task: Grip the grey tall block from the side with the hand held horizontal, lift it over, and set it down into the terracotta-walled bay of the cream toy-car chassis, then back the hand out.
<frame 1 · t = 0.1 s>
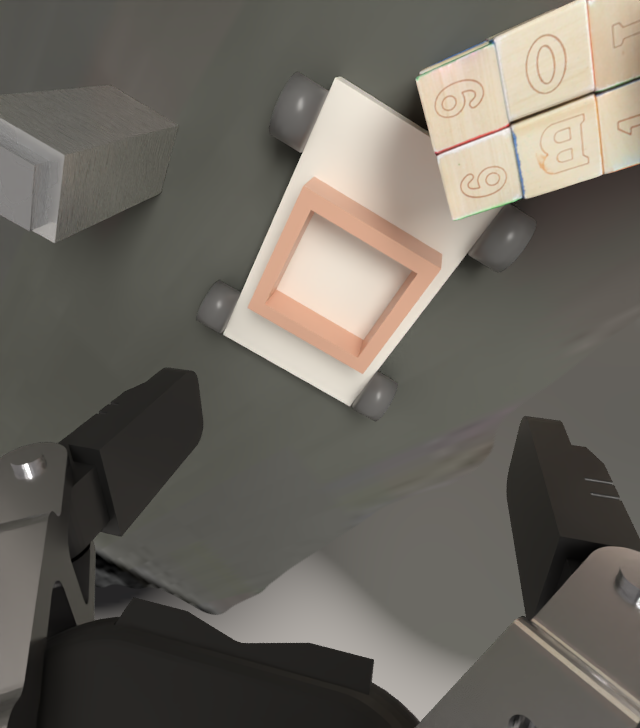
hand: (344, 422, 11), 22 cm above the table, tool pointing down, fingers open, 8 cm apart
chassis: (348, 266, 33), on the table
grey tall block: (137, 141, 32), on the table
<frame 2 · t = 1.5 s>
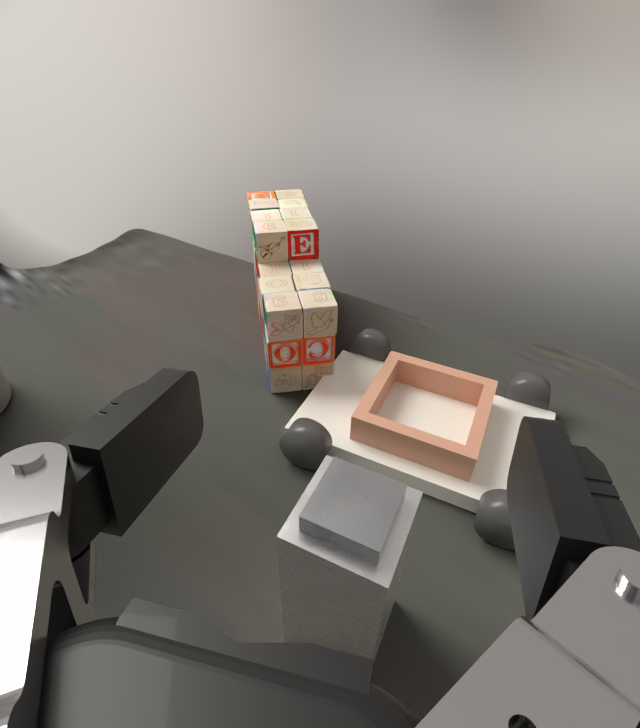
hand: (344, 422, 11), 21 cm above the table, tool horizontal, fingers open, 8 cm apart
stack of blocks: (289, 331, 52), on the table, touching chassis
chassis: (420, 432, 39), on the table
grey tall block: (341, 620, 27), on the table
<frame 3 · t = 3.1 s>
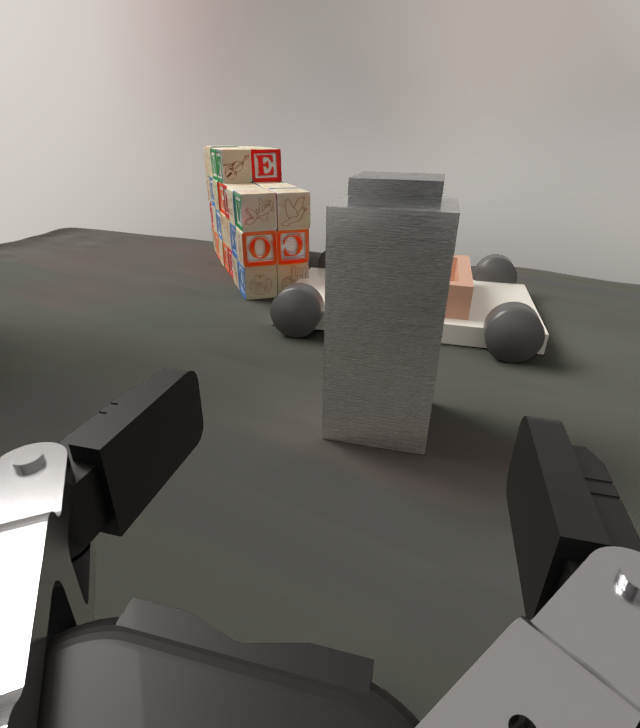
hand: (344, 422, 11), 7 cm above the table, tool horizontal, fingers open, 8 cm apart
stack of blocks: (254, 271, 51), on the table, touching chassis
chassis: (405, 311, 39), on the table
grey tall block: (379, 418, 24), on the table
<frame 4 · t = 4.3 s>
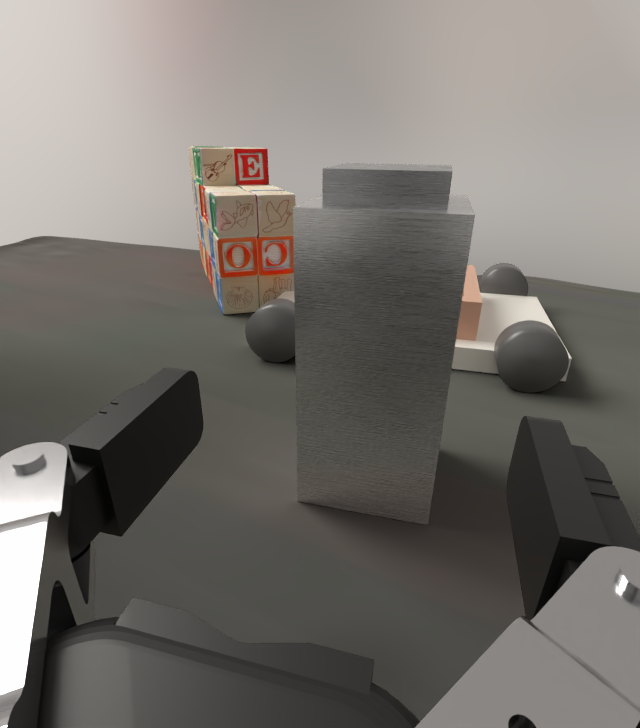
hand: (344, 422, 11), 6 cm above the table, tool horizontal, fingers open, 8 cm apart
stack of blocks: (240, 282, 47), on the table, touching chassis
chassis: (403, 328, 34), on the table
grey tall block: (370, 471, 20), on the table
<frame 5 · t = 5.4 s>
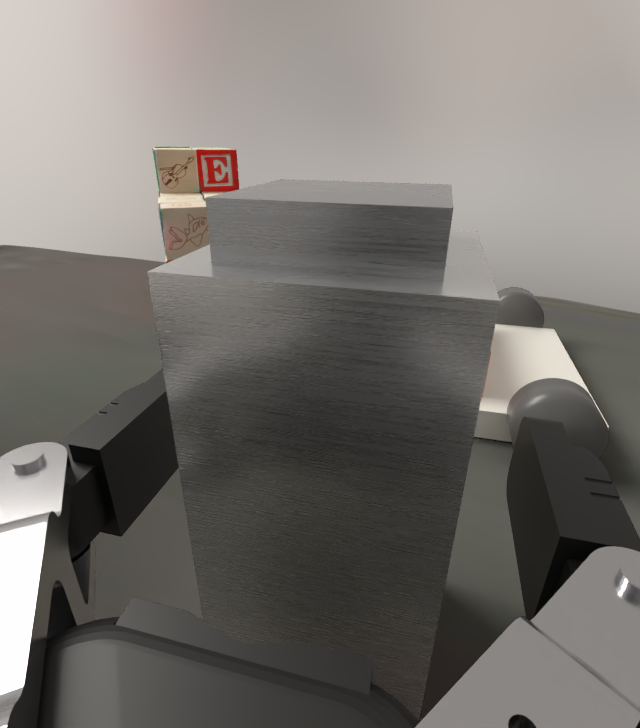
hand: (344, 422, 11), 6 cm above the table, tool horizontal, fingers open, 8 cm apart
stack of blocks: (209, 302, 41), on the table, touching chassis
chassis: (392, 370, 28), on the table
grey tall block: (331, 627, 13), on the table
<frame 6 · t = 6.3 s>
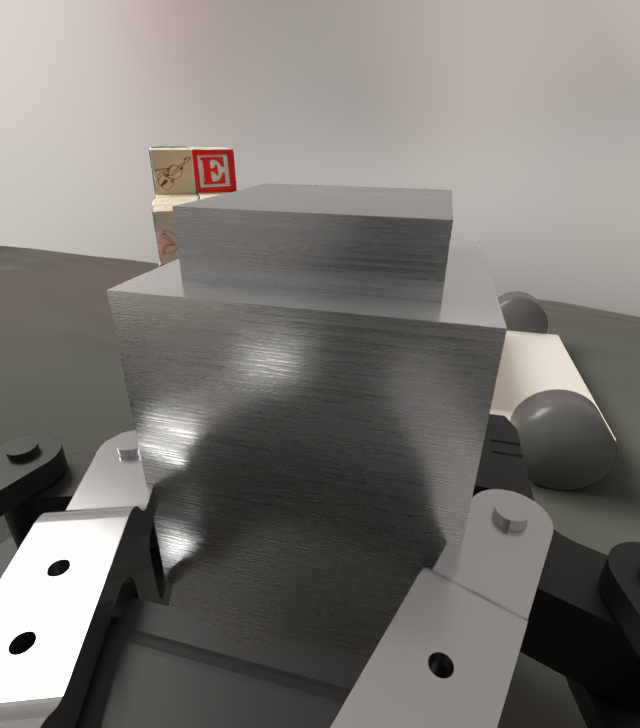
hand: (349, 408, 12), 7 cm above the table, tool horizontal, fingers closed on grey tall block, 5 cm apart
stack of blocks: (207, 304, 40), on the table, touching chassis
chassis: (391, 378, 27), on the table
grey tall block: (323, 659, 13), on the table, touching gripper
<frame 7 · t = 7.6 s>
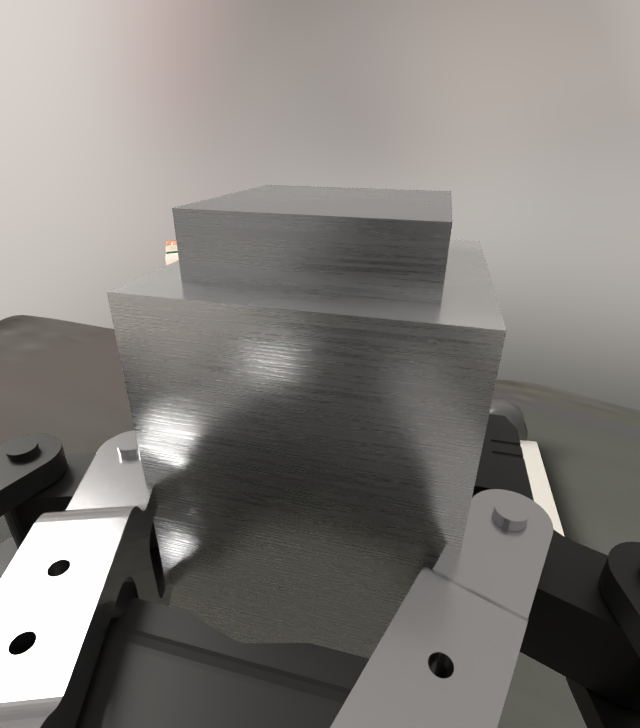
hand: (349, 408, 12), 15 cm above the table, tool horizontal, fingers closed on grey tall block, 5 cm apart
chassis: (387, 490, 31), on the table
grey tall block: (323, 659, 13), point 8 cm above the table, touching gripper
when the fingers open (9 cm above the table, at t = 11.4 s): grey tall block drops 1 cm, resting on chassis.
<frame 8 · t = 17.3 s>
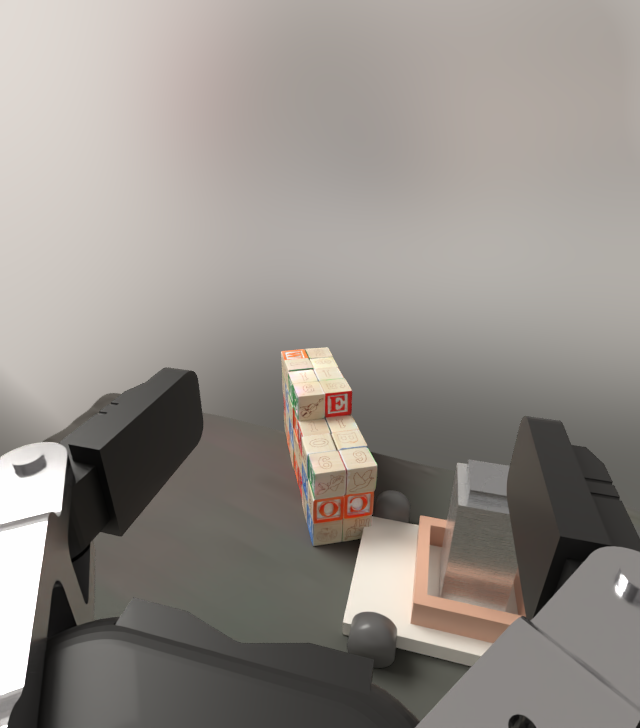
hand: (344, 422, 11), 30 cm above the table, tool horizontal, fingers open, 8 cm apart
stack of blocks: (320, 476, 55), on the table, touching chassis
chassis: (467, 597, 40), on the table
grey tall block: (469, 586, 40), point 1 cm above the table, touching chassis
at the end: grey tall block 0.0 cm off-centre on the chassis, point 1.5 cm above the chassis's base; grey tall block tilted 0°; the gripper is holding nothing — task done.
